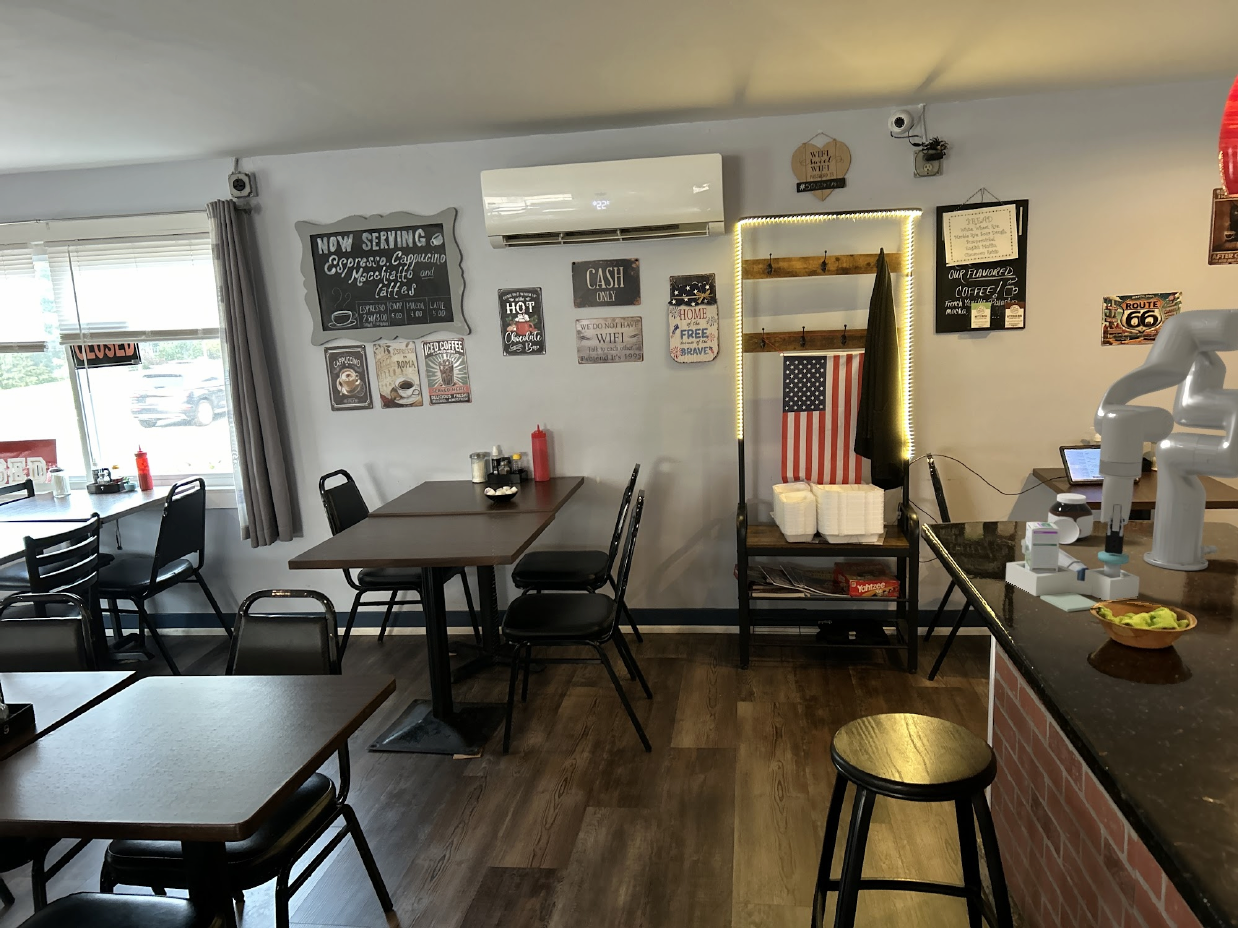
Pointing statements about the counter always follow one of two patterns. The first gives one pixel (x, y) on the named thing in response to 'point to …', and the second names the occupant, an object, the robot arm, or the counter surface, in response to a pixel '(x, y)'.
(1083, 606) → the mat
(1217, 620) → the counter surface
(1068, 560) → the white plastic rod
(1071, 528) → the spread jar
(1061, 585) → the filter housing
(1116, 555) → the teal mushroom knob
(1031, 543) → the syrup box
